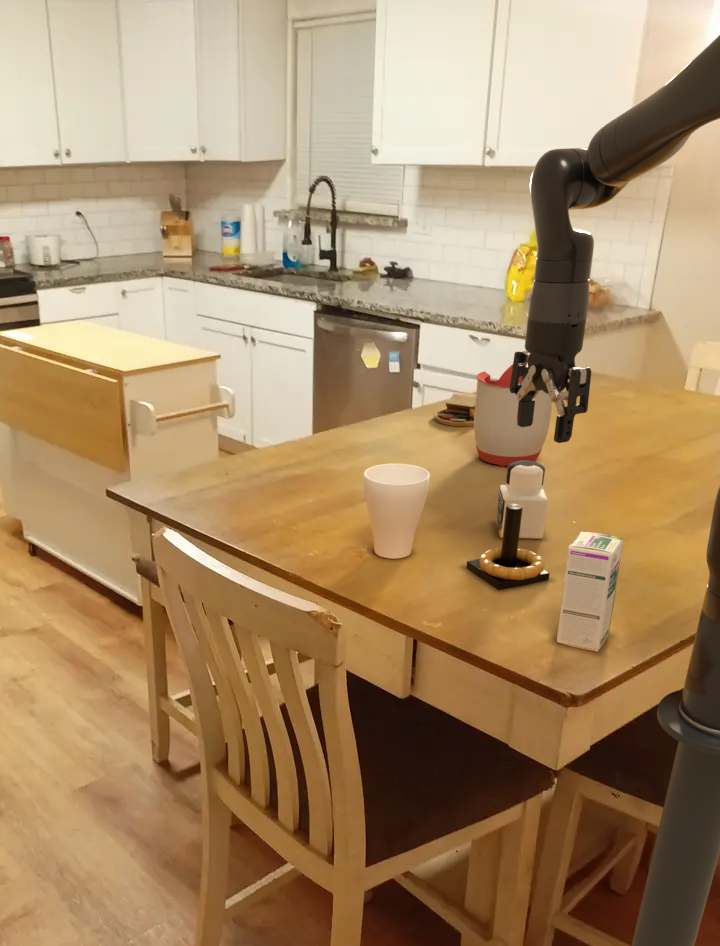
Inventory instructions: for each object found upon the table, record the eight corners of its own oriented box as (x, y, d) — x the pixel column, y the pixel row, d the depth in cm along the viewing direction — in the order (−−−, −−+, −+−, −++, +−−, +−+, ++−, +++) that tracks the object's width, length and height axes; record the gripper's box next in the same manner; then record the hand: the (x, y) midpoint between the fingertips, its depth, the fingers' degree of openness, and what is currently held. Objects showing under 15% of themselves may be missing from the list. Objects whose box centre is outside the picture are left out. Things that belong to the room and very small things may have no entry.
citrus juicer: (514, 441, 208) (524, 348, 198) (562, 464, 193) (575, 365, 184) (451, 450, 204) (458, 355, 194) (494, 474, 189) (505, 373, 180)
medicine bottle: (495, 522, 167) (502, 456, 161) (537, 523, 166) (545, 457, 160) (499, 538, 161) (507, 470, 155) (543, 539, 160) (552, 471, 154)
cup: (358, 540, 162) (360, 463, 156) (420, 539, 162) (425, 462, 155) (363, 565, 153) (366, 485, 147) (428, 564, 153) (434, 484, 146)
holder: (548, 579, 146) (558, 511, 141) (498, 590, 143) (506, 521, 138) (514, 558, 154) (522, 492, 148) (466, 567, 151) (472, 501, 146)
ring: (555, 574, 145) (557, 564, 144) (502, 585, 142) (503, 575, 141) (518, 552, 153) (520, 541, 152) (467, 562, 150) (468, 551, 149)
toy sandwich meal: (423, 422, 223) (424, 402, 221) (450, 409, 233) (452, 390, 230) (472, 430, 216) (474, 409, 214) (498, 416, 226) (500, 396, 223)
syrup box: (598, 653, 126) (615, 552, 119) (553, 642, 129) (568, 544, 122) (609, 635, 130) (626, 537, 123) (565, 625, 133) (580, 529, 126)
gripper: (502, 310, 132) (491, 424, 140) (567, 326, 120) (551, 451, 128) (547, 305, 134) (534, 418, 142) (616, 320, 122) (597, 443, 130)
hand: (542, 433), depth 135 cm, fingers open, 8 cm apart
